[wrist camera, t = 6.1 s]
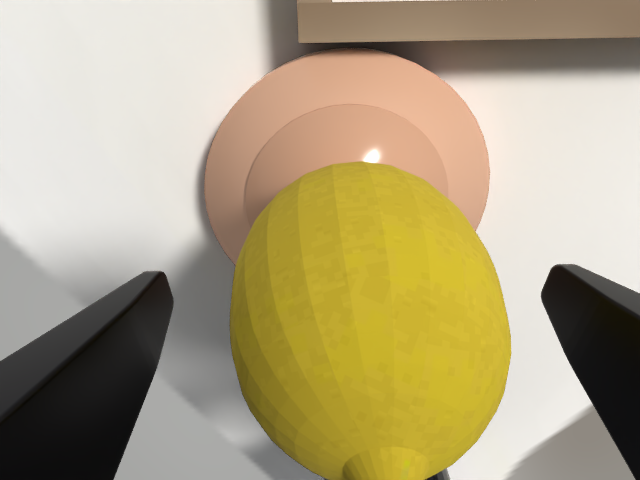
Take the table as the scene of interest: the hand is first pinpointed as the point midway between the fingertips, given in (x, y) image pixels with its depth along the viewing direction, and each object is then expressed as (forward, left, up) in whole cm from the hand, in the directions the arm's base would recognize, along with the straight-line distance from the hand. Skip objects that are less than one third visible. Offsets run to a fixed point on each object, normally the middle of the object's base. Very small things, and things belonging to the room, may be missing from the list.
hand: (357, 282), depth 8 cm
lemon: (0, 0, -4) cm, 4 cm away
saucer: (0, 0, -4) cm, 4 cm away
